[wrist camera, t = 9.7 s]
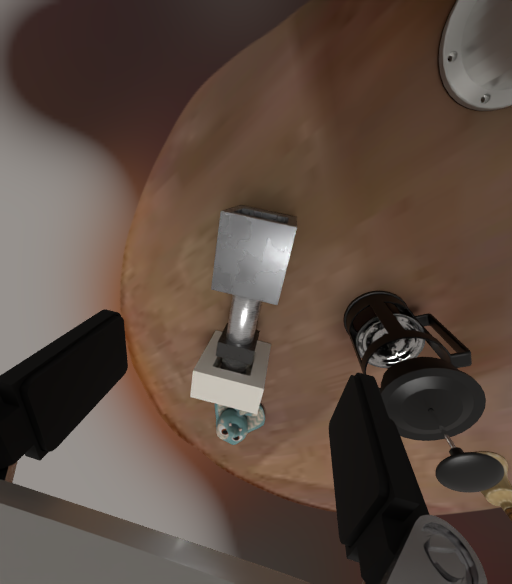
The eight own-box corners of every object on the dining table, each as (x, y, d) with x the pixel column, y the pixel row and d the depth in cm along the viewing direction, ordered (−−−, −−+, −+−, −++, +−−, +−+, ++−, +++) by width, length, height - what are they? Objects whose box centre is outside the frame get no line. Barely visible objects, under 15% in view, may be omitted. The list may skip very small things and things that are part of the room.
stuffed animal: (279, 421, 42) (245, 468, 45) (278, 395, 49) (249, 437, 52) (225, 392, 42) (194, 442, 44) (231, 369, 49) (204, 413, 51)
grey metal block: (240, 204, 34) (220, 210, 25) (296, 216, 34) (297, 227, 25) (231, 265, 38) (211, 289, 29) (281, 276, 38) (277, 305, 28)
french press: (346, 349, 41) (399, 520, 20) (333, 300, 38) (378, 440, 17) (424, 334, 38) (584, 517, 17) (416, 280, 35) (599, 419, 14)
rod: (238, 253, 34) (229, 264, 29) (275, 262, 33) (272, 274, 29) (221, 361, 41) (211, 383, 37) (250, 368, 41) (245, 392, 36)
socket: (215, 330, 43) (193, 370, 34) (271, 343, 43) (263, 389, 33) (212, 352, 45) (190, 396, 36) (265, 366, 45) (256, 414, 35)
